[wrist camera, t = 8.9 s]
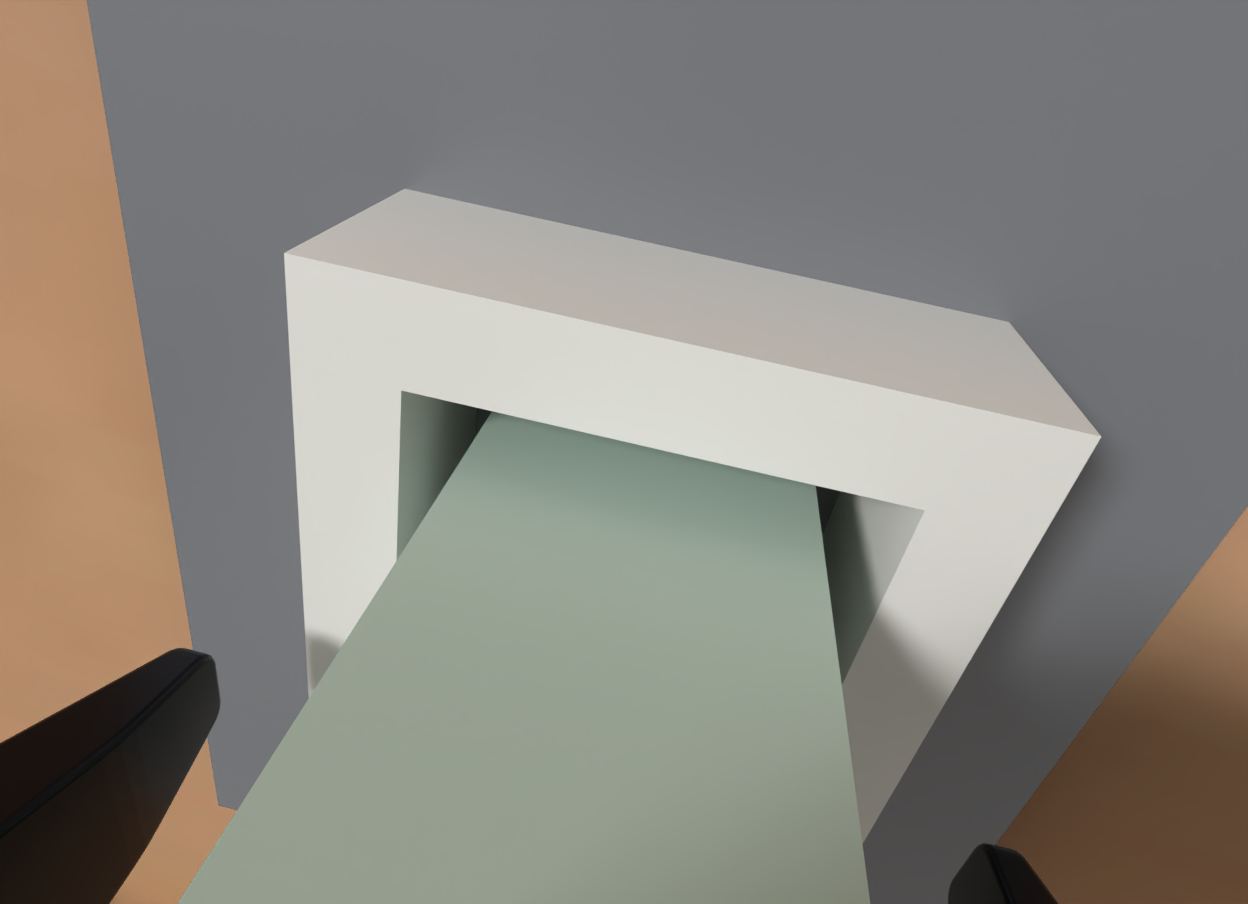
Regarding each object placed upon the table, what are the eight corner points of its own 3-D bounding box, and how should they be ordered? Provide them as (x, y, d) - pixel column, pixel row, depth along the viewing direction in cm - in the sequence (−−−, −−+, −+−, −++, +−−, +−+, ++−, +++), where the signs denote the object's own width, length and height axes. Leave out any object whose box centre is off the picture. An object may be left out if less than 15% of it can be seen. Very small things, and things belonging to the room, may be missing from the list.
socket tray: (894, 947, 18) (923, 1144, 15) (233, 783, 18) (129, 940, 15) (1632, -90, 7) (2251, -157, 4) (64, -401, 8) (-369, -654, 5)
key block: (806, 416, 11) (944, 1460, 3) (707, 703, 14) (650, 1575, 6) (528, 353, 11) (-14, 1203, 3) (492, 651, 14) (173, 1445, 6)
